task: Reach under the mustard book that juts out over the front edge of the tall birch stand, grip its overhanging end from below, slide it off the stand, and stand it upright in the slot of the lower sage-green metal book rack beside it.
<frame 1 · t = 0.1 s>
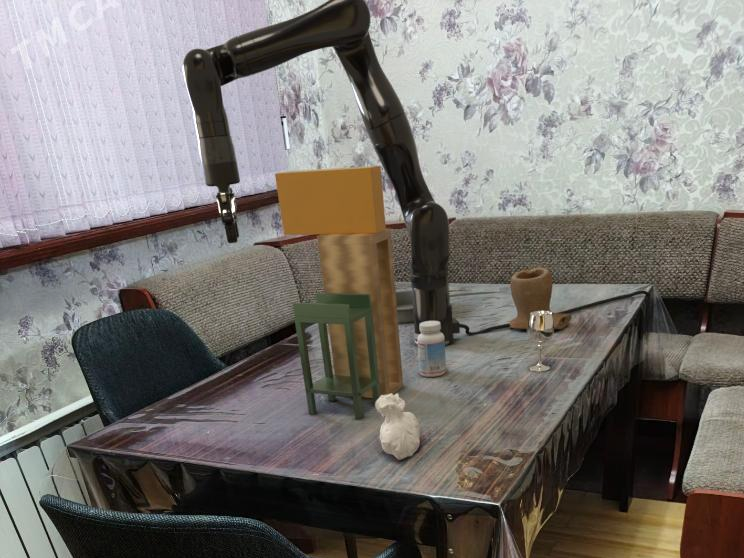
hand: (233, 240, 162), 29 cm above the table, tool pointing down, fingers open, 8 cm apart
tall stand: (370, 391, 153), on the table
book: (333, 232, 139), point 32 cm above the table, touching tall stand
brown clay vessel: (537, 329, 185), on the table
white tied sack: (400, 451, 124), on the table
cake pan: (407, 314, 210), on the table
pill bottle: (432, 374, 160), on the table
wineglass: (539, 369, 157), on the table
book rack: (345, 408, 145), on the table
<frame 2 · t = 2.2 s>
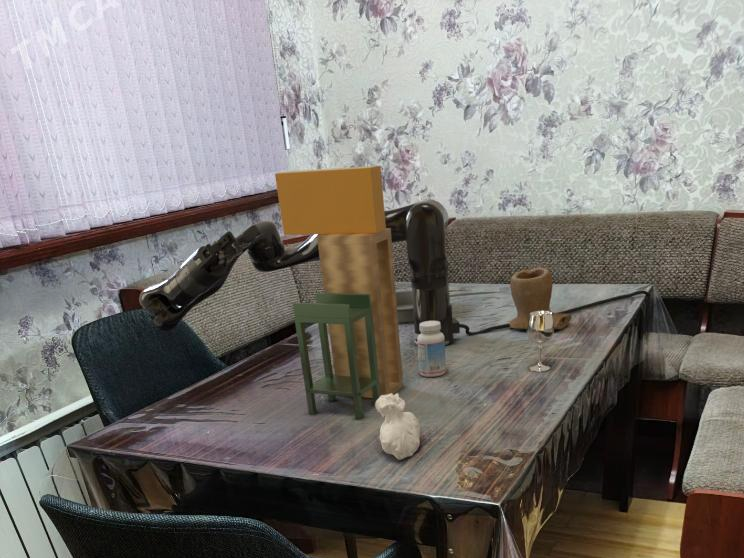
hand: (244, 232, 147), 32 cm above the table, tool pointing upward, fingers open, 8 cm apart
nothing on the table moved.
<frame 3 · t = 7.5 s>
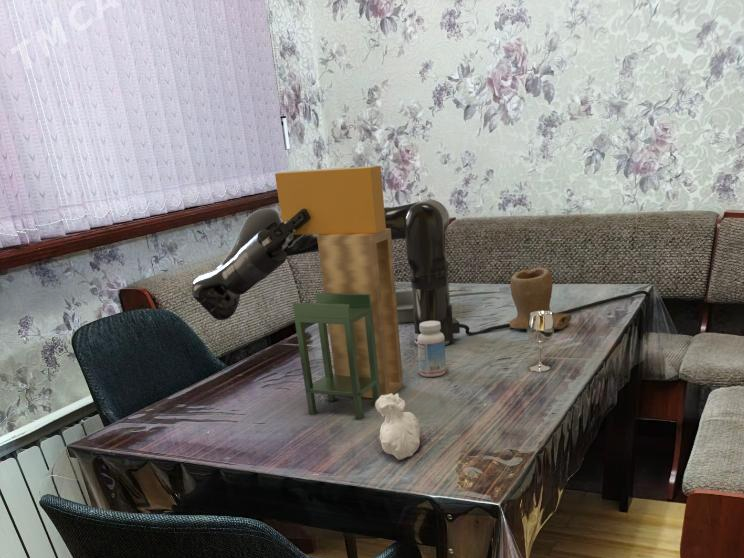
hand: (313, 211, 138), 36 cm above the table, tool pointing upward, fingers closed on book, 4 cm apart
book: (333, 232, 139), point 32 cm above the table, touching gripper, tall stand
everything else where it was.
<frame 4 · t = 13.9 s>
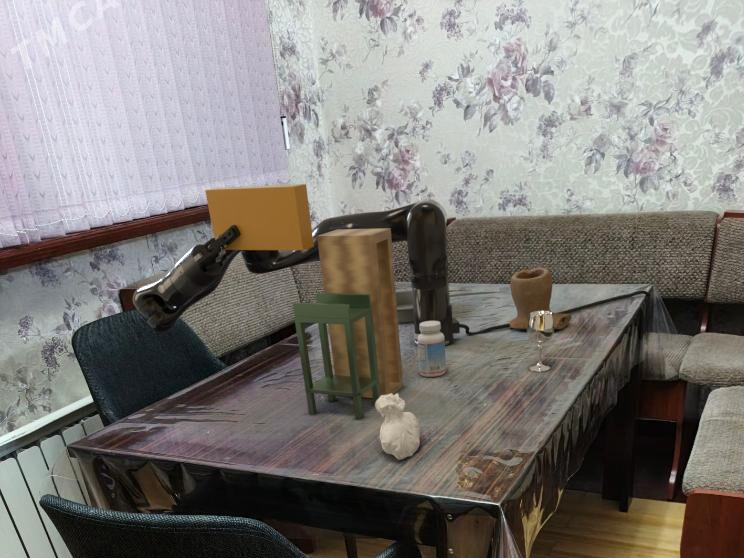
hand: (244, 227, 141), 34 cm above the table, tool pointing upward, fingers closed on book, 4 cm apart
book: (264, 248, 141), point 30 cm above the table, touching gripper
everything else where it was.
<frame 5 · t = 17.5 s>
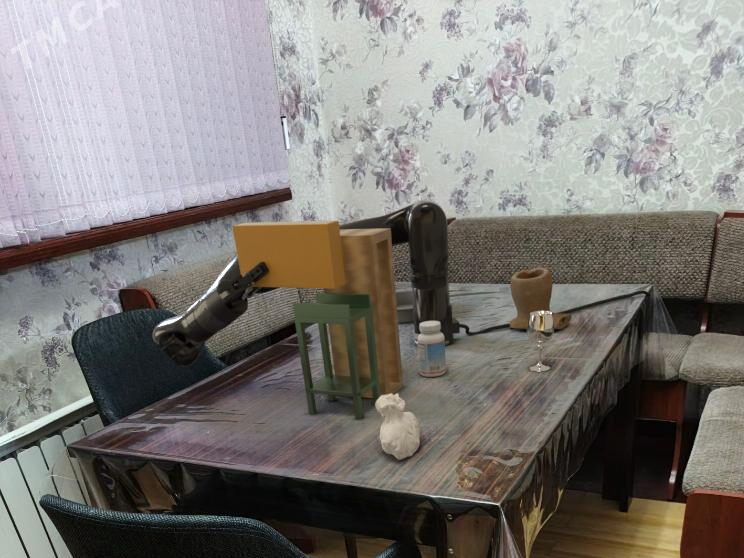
hand: (272, 264, 135), 28 cm above the table, tool pointing upward, fingers closed on book, 4 cm apart
book: (293, 285, 136), point 24 cm above the table, touching gripper
everything else where it was.
when the fingers open (23 cm above the table, at t = 20.4 s): book stays where it is, resting on book rack.
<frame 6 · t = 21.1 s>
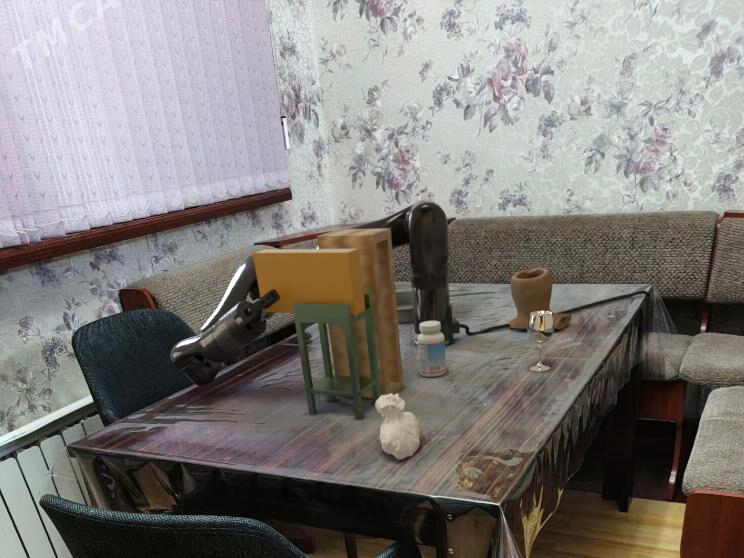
hand: (289, 288, 136), 24 cm above the table, tool pointing upward, fingers open, 8 cm apart
book: (313, 311, 137), point 19 cm above the table, touching book rack
everything else where it was.
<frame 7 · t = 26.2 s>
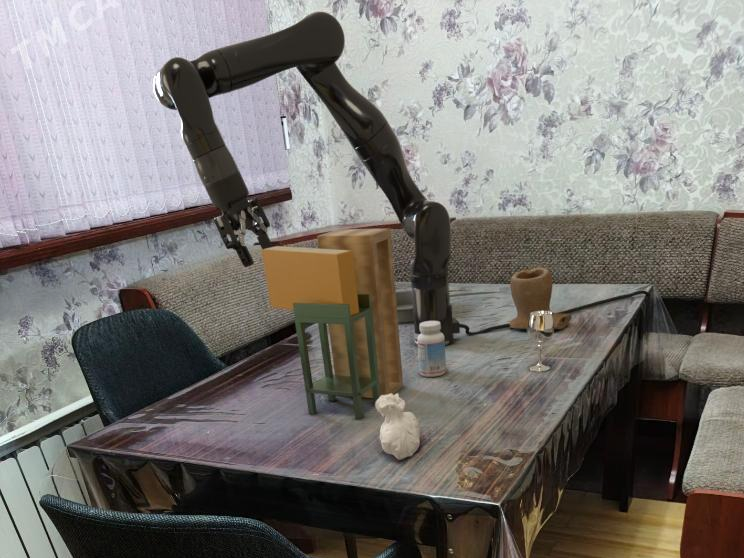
hand: (259, 259, 146), 28 cm above the table, tool tilted 15°, fingers open, 8 cm apart
book: (313, 310, 138), point 19 cm above the table, touching book rack
everything else where it was.
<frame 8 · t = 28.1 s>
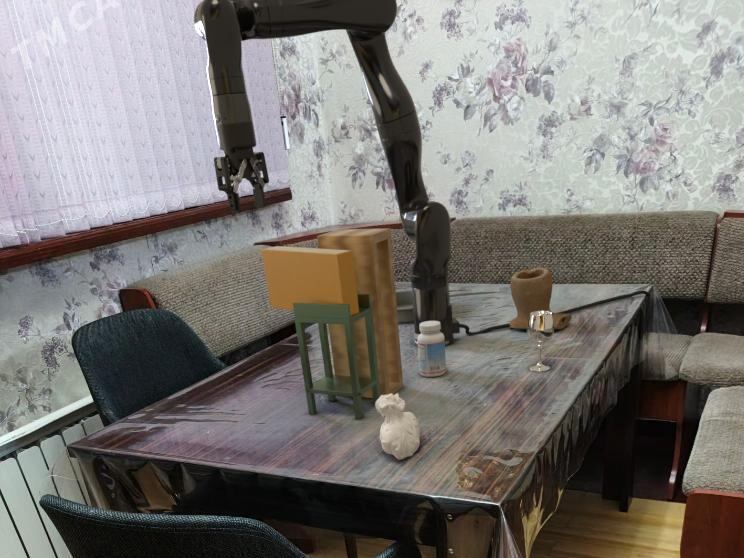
hand: (248, 210, 149), 36 cm above the table, tool pointing down, fingers open, 8 cm apart
nothing on the table moved.
at the end: book 1.0 cm from the target spot on the book rack, point 19.5 cm above the book rack's base; book tilted 0°; the gripper is holding nothing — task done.
